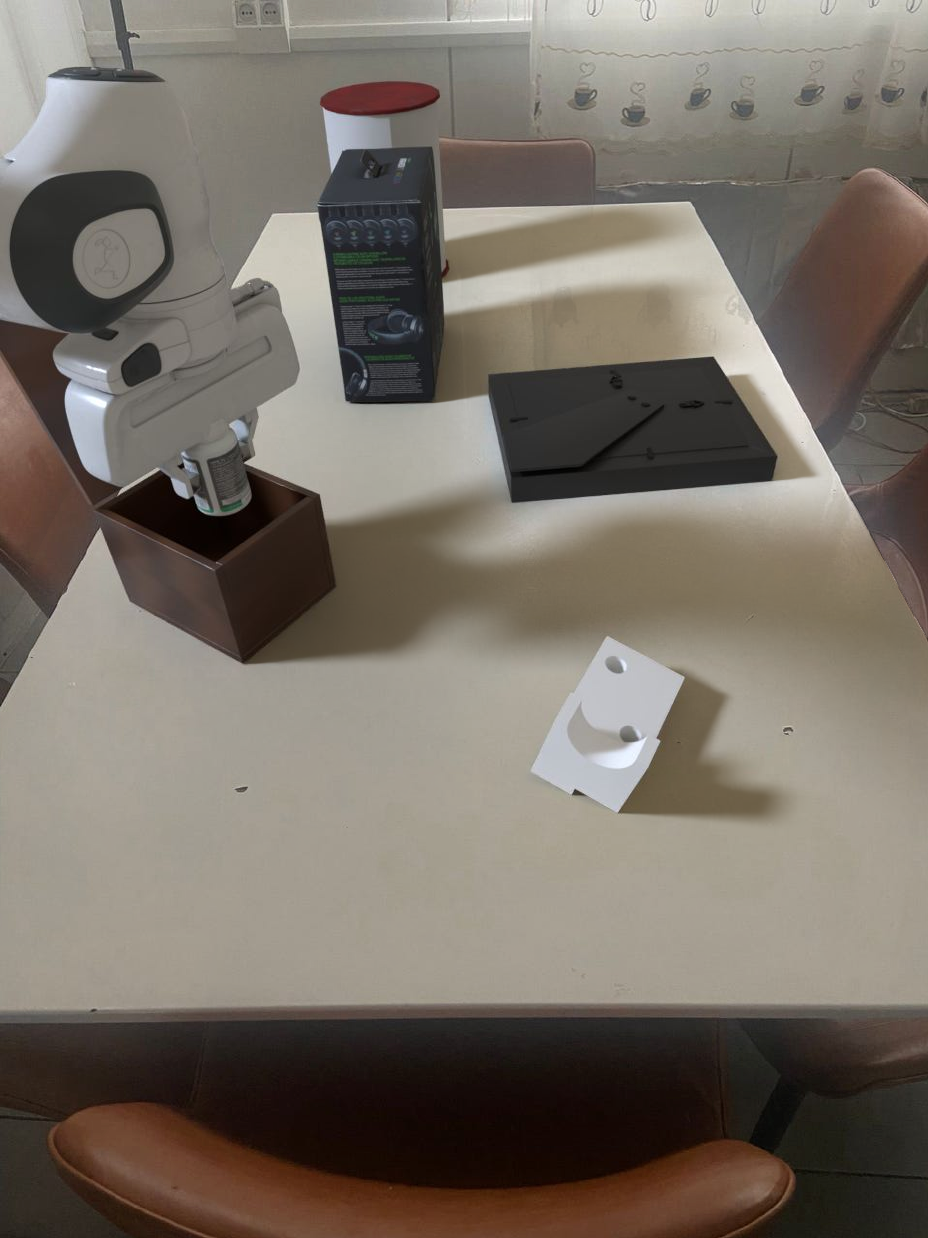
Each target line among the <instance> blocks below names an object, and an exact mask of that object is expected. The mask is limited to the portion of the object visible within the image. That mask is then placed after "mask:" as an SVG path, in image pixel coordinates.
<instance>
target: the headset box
mask: <svg viewBox="0 0 928 1238" xmlns="http://www.w3.org/2000/svg"><path fill="white" fill-rule="evenodd" d="M316 207H317V213H318V220H319V223H320V231H321V237H322V243H323V250H324V251H323V252H324V257H325V264H326V271H327V279H328V285H329V293H330V299H331V306H332V307H331V308H332V312H333V319H334V327H335V333H336V342H337V348H338V349H337V350H338V356H339V360H340V361H339V364H340V369H341V376H342V377H341V378H342V384H343V392H344V399H345V402H349V403H380V402H384V403H385V402H388V403H389V402H423V401H424V402H425V401H427V402H429V401H435V396H436V389H437V381H438V373H439V367H440V360H441V353H442V345H443V338H444V331H445V304H444V303H445V302H444V288H443V277H442V269H441V253H440V238H439V222H438V207H437V193H436V180H435V167H434V155H433V148H432V146H430V147H402V148H380V149H347V150H345V151H343V150H342V153H341V156H340V158H339V160H338V162H337V164H336V166H335V168H334V170H333V172H332V173H331V175H330V176H329V178H328V180H327V182H326V184H325V186H324V189H323V190H322V193H321V194H320V196H319V198H318V201H317V205H316Z"/></svg>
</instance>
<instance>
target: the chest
mask: <svg viewBox="0 0 928 1238" xmlns="http://www.w3.org/2000/svg"><path fill="white" fill-rule="evenodd" d="M182 461H183V459H182ZM177 467H178V468H180V469H182V468H185V466H184V462H183V463H182V464H180V465H177ZM244 467H245V470H246V475H247V478H248V482H249V486H250V490H251V500H250V502H249V503H248V504H247V505H246V506H245V507H244V508H243V509H241V510H240V511H238V512H236V513H233V514H230V515H226V516H211V515H207V514H205V513H203V512H201V511H200V510H199V509H198V507H197V504H196V501H195V498H194V496H192V497H191V498H189V499H186V498H184V497H181V496H179V495H178V494H177V493H176V492H175V490H174V487H173V484H172V480H171V477H169V476H168V475H166V474H165V473H164V472H162V471H161V470H160V469H159V470H157V471H156V472H154V473H152V474H150V475H149V476H147V477H146V478H144V479H142V480H141V481H140V482H137V483H136V484H134V485H133V486H130V487H129V488H128V489H126V490H125V491H122V492H121V493H120V494H118V495H116V496H115V497H113V498H111V499H110V500H108V501H106V502H105V503H103V504H102V505H99V506H98V507H97V508H95V509H93V513H94V515H95V519H96V521H97V523H98V526H99V528H100V531H101V534H102V536H103V538H104V541H105V544H106V546H107V548H108V550H109V553H110V556H111V559H112V561H113V563H114V566H115V568H116V569H115V570H116V571H117V574H118V576H119V578H120V580H121V583H122V584H121V585H122V586H123V590H124V592H125V594H126V596H127V598H128V600H129V602H130V603H132V604H134V605H135V606H137V607H139V608H141V609H142V610H144V611H147V612H148V613H150V614H152V615H154V616H155V617H157V618H159V619H161V620H162V621H164V622H166V623H168V624H170V625H171V626H174V627H175V628H177V629H179V630H181V631H182V632H184V633H186V634H188V635H190V636H192V637H193V638H195V639H197V640H199V641H201V642H202V643H204V644H206V645H208V646H210V647H211V648H213V649H215V650H217V651H219V652H221V653H222V654H223V655H226V656H228V657H229V658H231V659H232V660H235V661H236V662H239V663H241V664H245V663H246V662H248V661H249V660H250V659H251V658H252V657H253V656H255V655H256V654H257V653H258V652H259V651H261V650H262V649H263V648H264V647H266V645H268V644H269V643H270V642H271V641H272V640H274V639H275V638H277V637H278V636H279V635H280V634H281V633H282V632H284V631H285V630H286V629H288V628H289V626H291V625H292V624H293V623H295V622H296V621H297V620H298V619H299V618H300V617H302V616H303V615H304V614H305V613H306V612H308V611H309V610H310V609H312V607H313V606H315V605H316V604H317V603H318V602H319V601H321V600H322V599H324V597H325V596H327V595H328V594H329V593H331V592H332V591H333V590H334V589H335V588H336V587H337V581H336V575H335V570H334V564H333V559H332V553H331V547H330V543H329V536H328V531H327V526H326V520H325V514H324V510H323V504H322V497H321V494H320V493H317V492H315V491H313V490H310V489H308V488H306V487H303V486H301V485H298V484H296V483H294V482H290V481H288V480H286V479H283V478H281V477H279V476H276V475H274V474H272V473H269V472H266V471H264V470H262V469H259V468H257V467H254V466H252V465H249V464H247V463H246V462H244Z"/></svg>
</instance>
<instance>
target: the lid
mask: <svg viewBox="0 0 928 1238" xmlns="http://www.w3.org/2000/svg"><path fill="white" fill-rule="evenodd" d="M68 334H69V333H63V332H57V331H52V330H47V329H42V328H37V327H33V326H29V325H23V324H18V323H14V322H9V321H5V320H1V319H0V358H1V360H2V362H3V364H4V365H5V367H6V368H7V370H8V372H9V373H10V375H11V377H12V379H13V381H14V382H15V384H16V386H17V387H18V389H19V390H20V392H21V393H22V395H23V397H24V399H25V400H26V402H27V404H28V405H29V407H30V409H31V410H32V412H33V414H34V415H35V417H36V419H37V420H38V422H39V424H40V426H41V427H42V429H43V430H44V432H45V434H46V436H47V438H48V439H49V441H50V442H51V444H52V445H53V447H54V449H55V451H56V452H57V454H58V456H59V457H60V460H62V462H63V464H64V465H65V467H66V469H67V471H68V472H69V474H70V475H71V477H72V479H73V481H74V482H75V484H76V486H77V487H78V489H79V491H80V492H81V494H82V495H83V498H84V499H85V501H86V503H87V504H88V506H93V507H94V506H96V505H97V504H99V503H101V502H102V501H105V500H106V499H107V498H108V497H110V496H112V495H114V494H116V493H117V492H119V491H121V490H122V489H124V488H125V487H119V486H116V485H113V484H110V483H107V482H105V481H103V480H100V479H99V478H97V477H95V476H93V475H92V474H90V473H89V472H88V471H87V470H86V469H85V467H84V466H83V464H82V462H81V459H80V457H79V454H78V451H77V448H76V446H75V443H74V439H73V436H72V433H71V429H70V426H69V422H68V418H67V414H66V408H65V393H66V389H67V386H68V384H69V383H70V381H71V380H72V379H71V378H69V377H67V376H65V375H64V374H62V373H61V372H60V371H59V370H58V369H57V367H56V365H55V362H54V359H53V351H54V349H55V347H56V346H57V345H58V344H59V343H60V342H61V341H62V340H63V339H64V338H65V337H66V336H67V335H68Z"/></svg>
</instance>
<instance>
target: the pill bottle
mask: <svg viewBox="0 0 928 1238" xmlns="http://www.w3.org/2000/svg"><path fill="white" fill-rule="evenodd" d="M180 454H181V457H182V459H183V462H184V466H185V469H188V470H189V472H195V473H197V474H198V475H199V478H200V483H199V484H200V485H202V490H201V491H200V492H198V493H197V494H195V495H194V498H195V501H196V504H197V507H198V509H199V510H200V511H201V512H203V513H205V514H207V515H211V516H226V515H230V514H233V513H236V512H238V511H240V510H241V509H243V508H244V507H245V506H246V505H247V504H248V503H249V502H250V500H251V490H250V486H249V482H248V478H247V475H246V470H245V467H244V463H245V462H244V463H243V459H242V455H241V451H240V447H239V443H238V438H237V436H236V433H235V431H234V430H233V427H230V424H229V425H227V424H226V422H225V421H224V419H223V418H221V419H219V420H218V421H216V422H214V423H213V424H212V425H211V426H210V432H209V436H208V437H207V438H205V439H204V440H202V441H200V442H199V443H197V444H195V445H194V446H192V447H190V448H189V449H187V450H185V451H184V452H182V453H180Z"/></svg>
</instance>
